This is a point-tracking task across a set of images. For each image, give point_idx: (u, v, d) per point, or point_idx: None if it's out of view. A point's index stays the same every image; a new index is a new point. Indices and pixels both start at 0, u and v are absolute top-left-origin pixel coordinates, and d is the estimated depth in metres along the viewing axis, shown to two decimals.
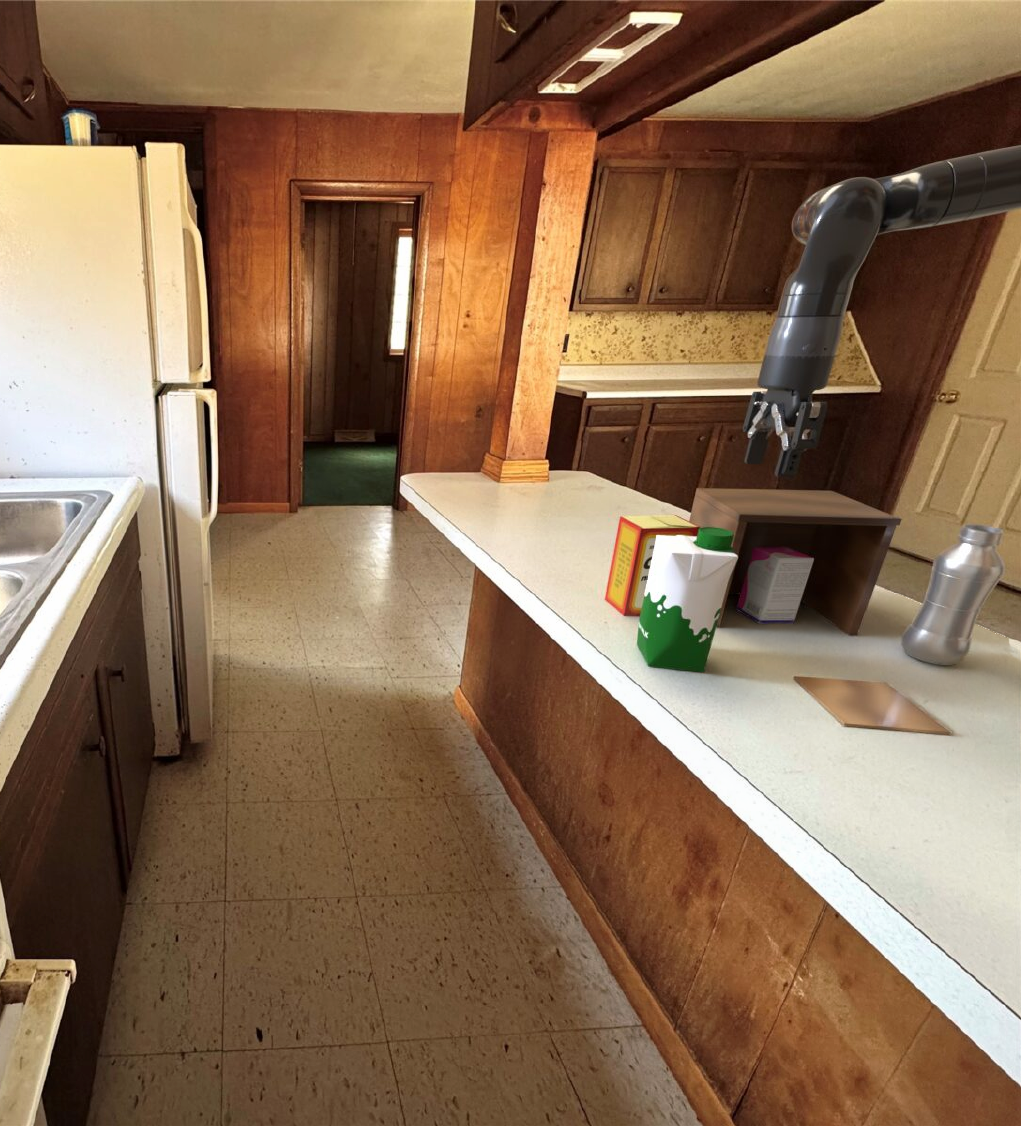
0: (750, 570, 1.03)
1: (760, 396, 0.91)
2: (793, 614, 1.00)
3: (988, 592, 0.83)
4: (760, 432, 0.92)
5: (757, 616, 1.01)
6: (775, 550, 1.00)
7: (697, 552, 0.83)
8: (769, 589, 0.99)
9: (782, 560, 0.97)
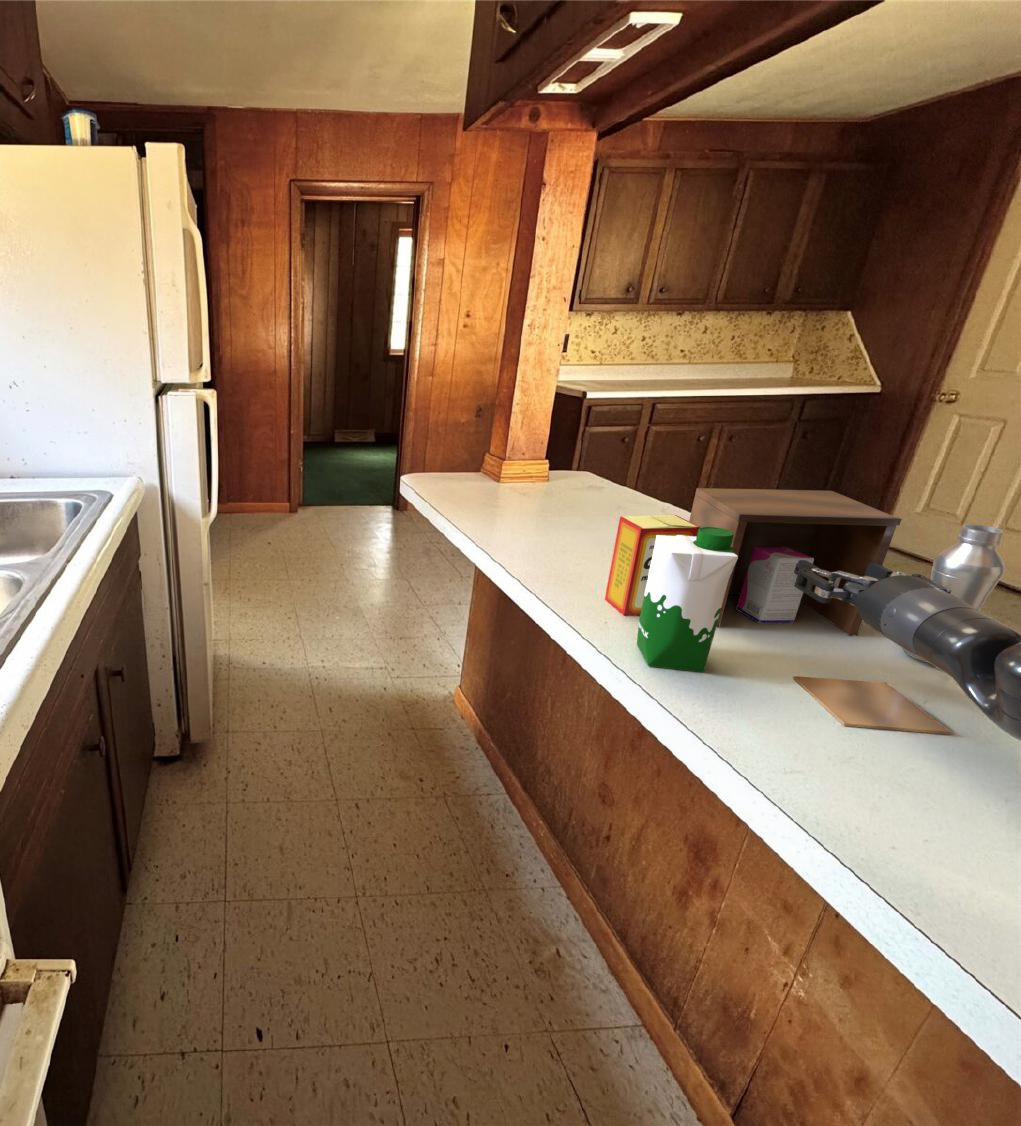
0: (750, 570, 1.03)
1: None
2: (793, 614, 1.00)
3: (988, 592, 0.83)
4: None
5: (757, 616, 1.01)
6: (775, 550, 1.00)
7: (697, 552, 0.83)
8: (769, 589, 0.99)
9: (782, 560, 0.97)
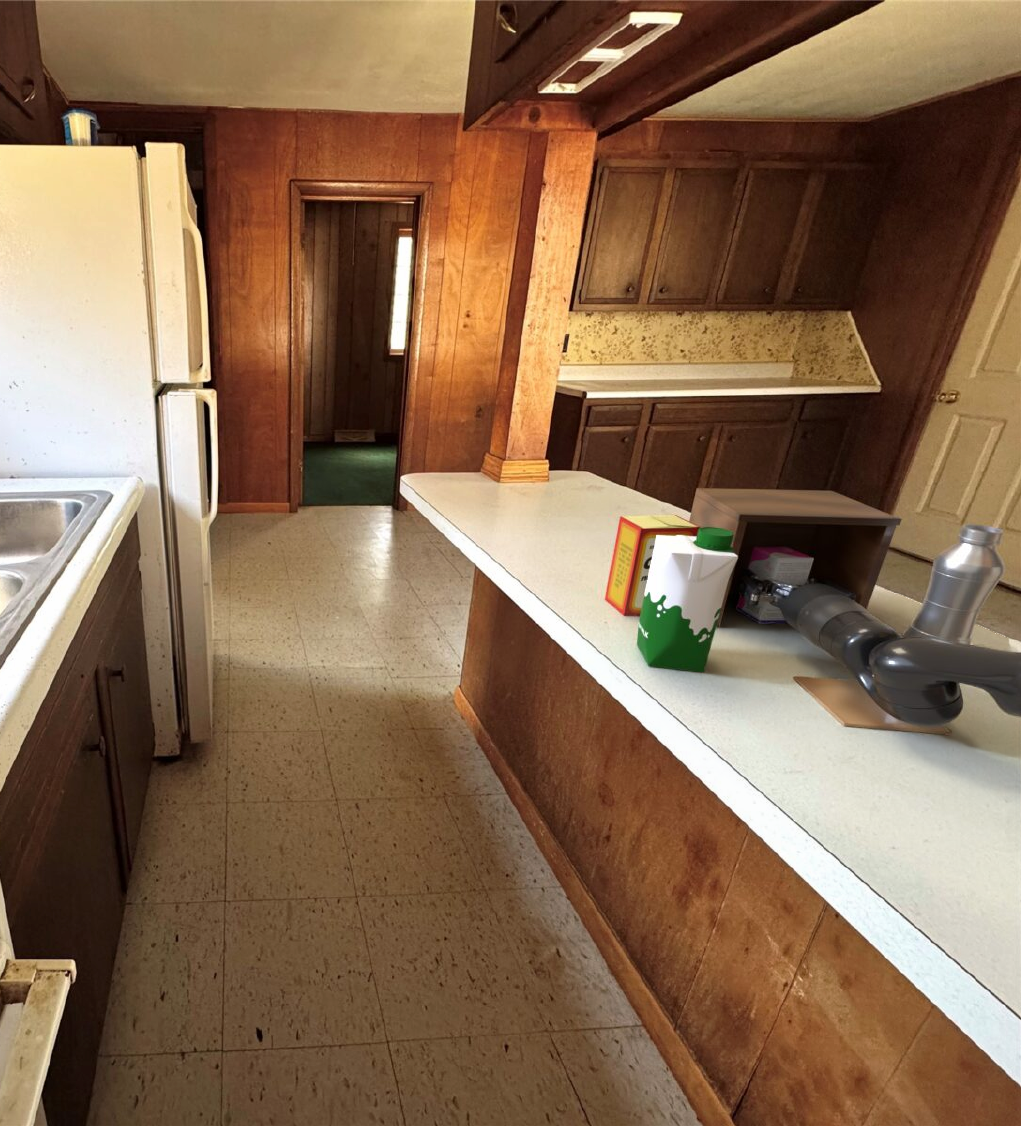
0: None
1: None
2: None
3: (988, 592, 0.83)
4: None
5: (757, 616, 1.01)
6: (775, 550, 1.00)
7: (697, 552, 0.83)
8: None
9: (782, 560, 0.97)
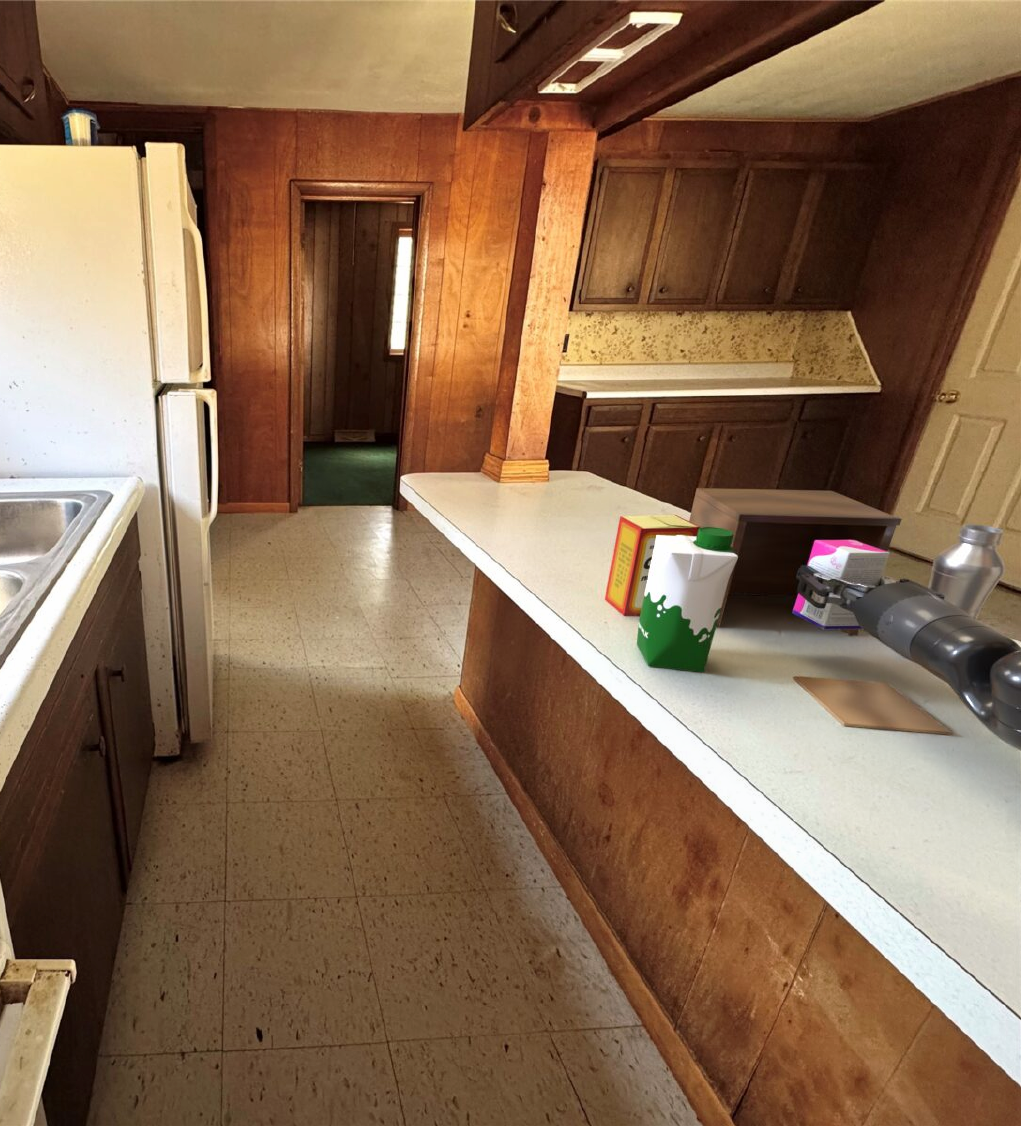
0: None
1: None
2: None
3: (988, 592, 0.83)
4: (881, 586, 0.83)
5: (820, 621, 0.86)
6: (841, 544, 0.85)
7: (697, 552, 0.83)
8: None
9: (852, 554, 0.82)
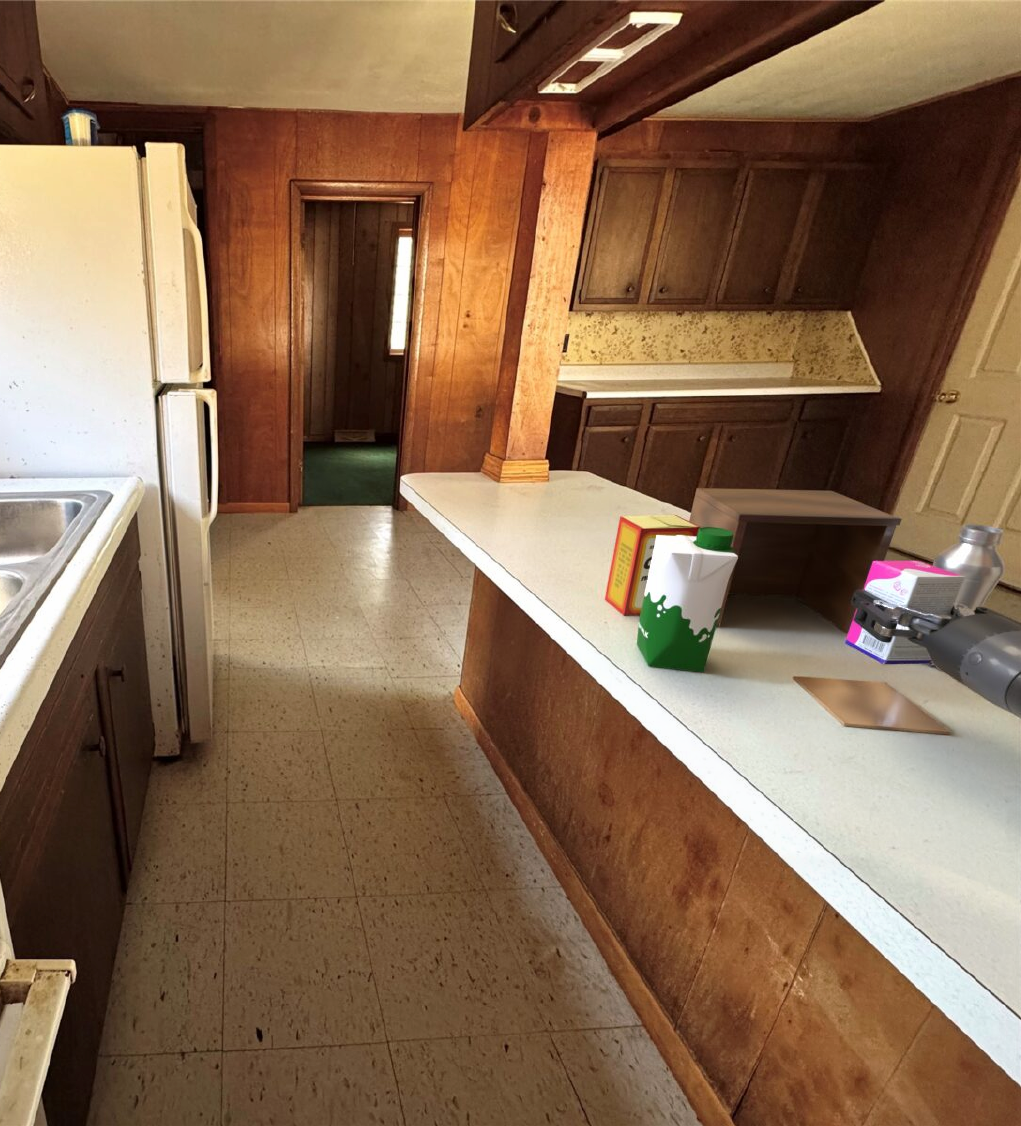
0: None
1: None
2: None
3: (988, 592, 0.83)
4: (953, 615, 0.72)
5: (880, 655, 0.75)
6: (905, 565, 0.74)
7: (697, 552, 0.83)
8: None
9: (921, 579, 0.71)
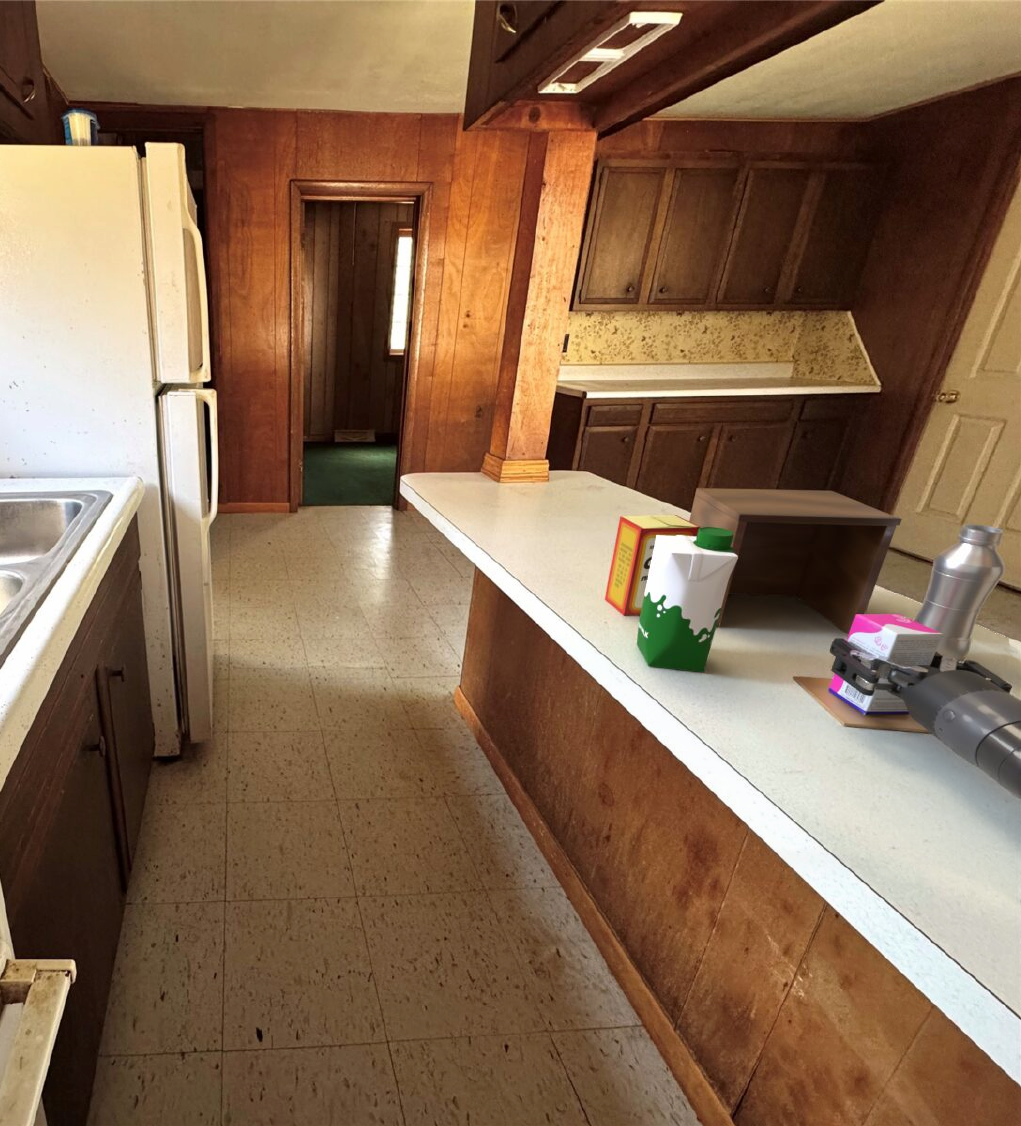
0: None
1: None
2: None
3: (988, 592, 0.83)
4: None
5: (861, 705, 0.77)
6: (886, 620, 0.76)
7: (697, 552, 0.83)
8: None
9: (901, 636, 0.73)
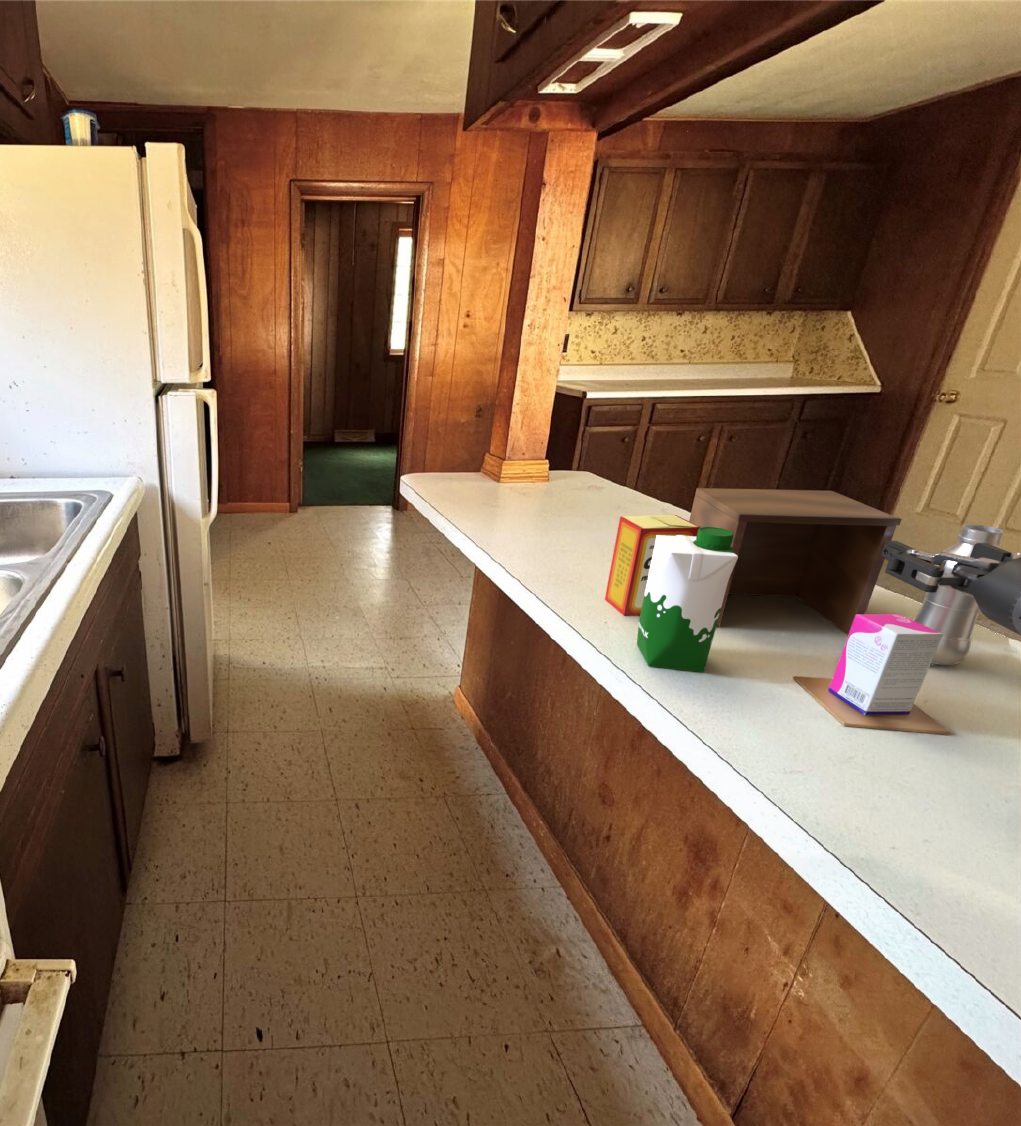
0: (850, 644, 0.79)
1: None
2: (910, 704, 0.76)
3: None
4: None
5: (861, 705, 0.77)
6: (886, 620, 0.76)
7: (697, 552, 0.83)
8: (880, 673, 0.75)
9: (900, 636, 0.73)
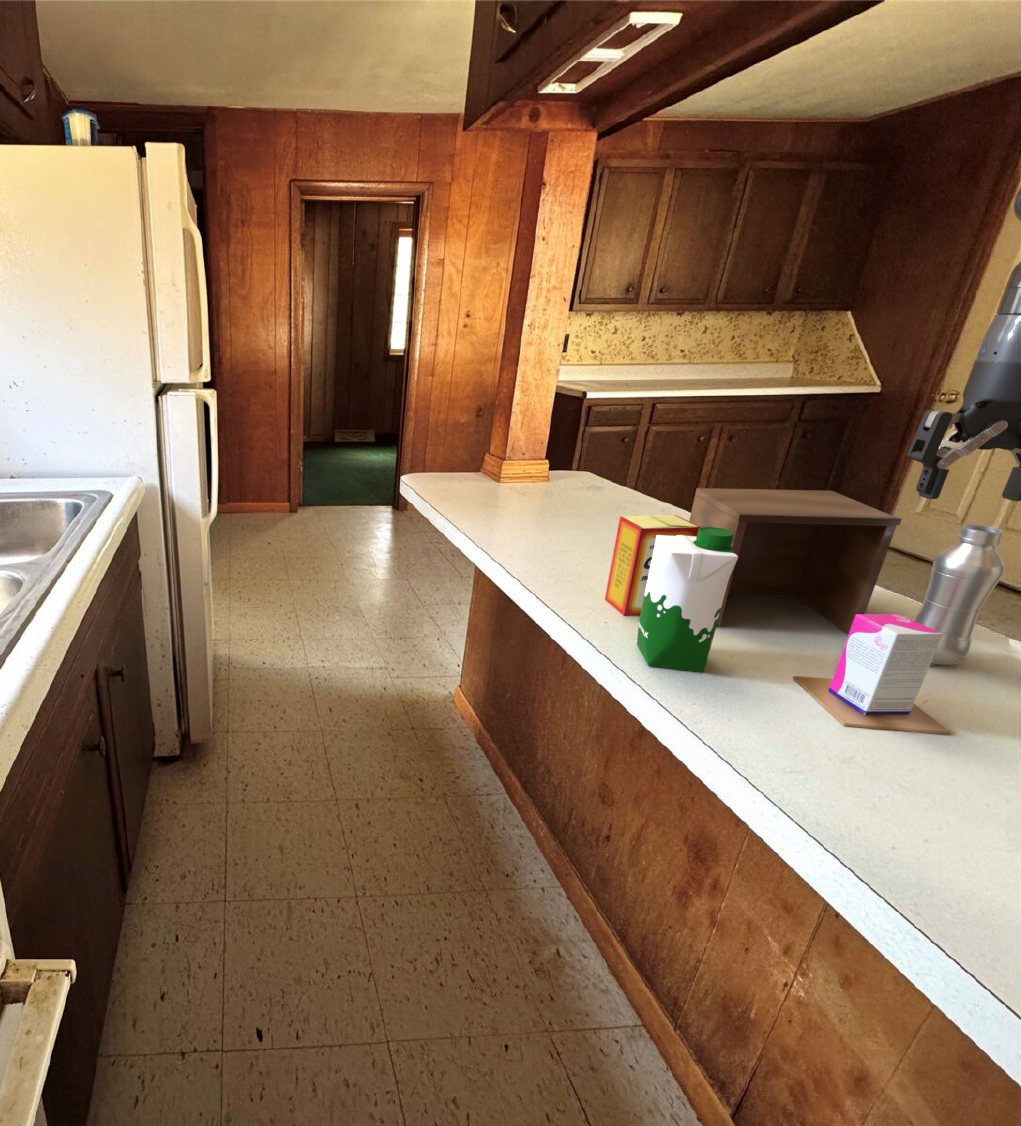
0: (850, 644, 0.79)
1: None
2: (910, 704, 0.76)
3: (988, 592, 0.83)
4: None
5: (861, 705, 0.77)
6: (886, 620, 0.76)
7: (697, 552, 0.83)
8: (880, 673, 0.75)
9: (900, 636, 0.73)
